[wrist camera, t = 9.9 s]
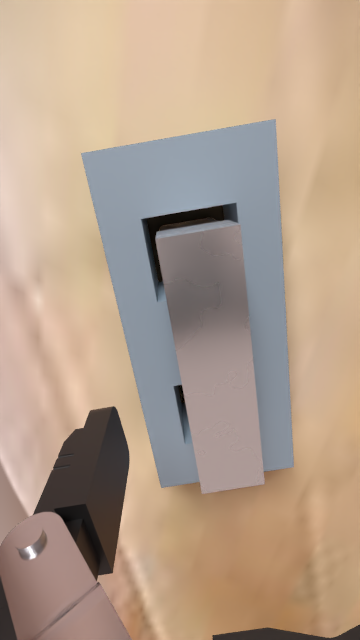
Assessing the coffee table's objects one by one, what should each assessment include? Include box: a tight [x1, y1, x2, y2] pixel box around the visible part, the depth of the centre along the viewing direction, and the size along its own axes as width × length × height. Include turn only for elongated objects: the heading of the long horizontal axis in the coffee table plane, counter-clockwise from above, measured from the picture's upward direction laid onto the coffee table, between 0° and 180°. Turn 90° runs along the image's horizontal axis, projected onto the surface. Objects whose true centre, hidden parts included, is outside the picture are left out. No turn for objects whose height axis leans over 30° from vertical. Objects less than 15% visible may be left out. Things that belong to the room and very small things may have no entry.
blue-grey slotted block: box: [81, 119, 294, 488], centre depth 16 cm, size 7×16×4 cm, turn 9°
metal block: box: [155, 217, 265, 494], centre depth 15 cm, size 2×10×7 cm, turn 10°
